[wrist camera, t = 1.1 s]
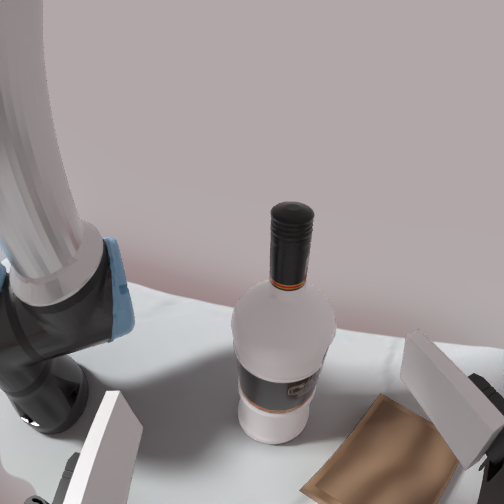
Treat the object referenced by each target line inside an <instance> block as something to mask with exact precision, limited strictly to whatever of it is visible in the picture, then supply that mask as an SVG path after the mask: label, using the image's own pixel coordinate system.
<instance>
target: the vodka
mask: <svg viewBox="0 0 504 504" xmlns="http://www.w3.org/2000/svg"><path fill="white" fill-rule="evenodd" d="M313 218H314V212H313V210H312V209H311V208H310V207H309V206H307V205H305V204H302V203H299V202H282V203H279V204H277V205H276V206H274V207H273V208H272V209H271V244H270V279H269V280H265V281H262V282H259V283H257V284H255V285H254V286H252V287H251V288H249V289H248V290H247V291H246V292H244V294H243V295H242V296H241V297H240V298H239V300H238V302H237V304H236V306H235V308H234V311H233V314H232V319H231V327H232V334H233V345H234V351H235V354H236V356H237V361H238V371H239V378H238V391H239V395H240V397H241V399H240V401H239V405H238V418H239V422H240V425H241V427H242V429H243V430H244V431H245V433H246V434H247V435H249V436H250V437H251V438H253V439H254V440H256V441H259V442H262V443H266V444H280V443H284V442H287V441H290V440H292V439H293V438H295V437H296V436H298V435H299V434H300V433H301V432H302V430H303V429H304V427H305V426H306V423H307V421H308V417H309V404H310V402H311V401H312V399H313V397H314V395H315V391H316V384H317V381H318V378H319V375H320V372H321V369H322V366H323V363H324V360H325V357H326V354H327V351H328V348H329V345H330V344H331V343H332V341H333V338H334V336H335V333H336V318H335V313H334V309H333V306H332V304H331V302H330V301H329V300H328V298H327V297H326V296H325V295H324V293H323V292H322V291H320V290H319V289H318V288H317V287H315V286H313V285H311V284H309V283H307V282H306V277H307V269H308V262H309V254H310V245H311V244H310V242H311V236H312V231H313V229H312V226H313Z"/></svg>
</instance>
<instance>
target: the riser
mask: <svg viewBox="0 0 504 504" xmlns="http://www.w3.org/2000/svg"><path fill="white" fill-rule="evenodd" d="M458 462H459V460H458V459H457V457H456V456H455V454H454V453H453V451H452V450H451V449H450V447H449V446H448V444H447V443H446V441H445V440H444V438H443V437H442V435H441V434H440V432H439V431H438V430H437V428H436V427H435V425H434V424H433V423H431V422H429V421H427V420H426V419H424V418H422V417H420V416H419V415H417V414H415V413H413V412H412V411H410V410H408V409H406V408H405V407H403V406H401V405H400V404H398V403H396V402H395V401H393V400H391V399H390V398H388V397H386V396H385V395H383V394H380V395H379V396H378V398H377V399H376V400H375V402H374V403H373V404H372V405H371V407H370V408H369V410H368V411H367V412H366V414H365V415H364V416H363V418H362V419H361V421H360V422H359V423H358V424H357V426H356V427H355V428H354V430H353V431H352V432H351V433H350V435H349V436H348V437H347V438H346V440H345V441H344V442H343V443H342V445H341V446H340V447H339V448H338V449H337V451H336V452H335V453H334V454H333V455H332V456H331V457H330V459H329V460H328V461H327V462H326V463H325V464H324V465H323V466H322V467H321V469H320V470H319V471H318V472H317V473H316V474H315V475H314V476H313V477H312V478H311V479H310V480H309V481H308V482H307V483H306V484H305V485H304V486H303V487H302V488H301V489H300V490H299V491H301V492H302V493H304V494H305V495H307V496H308V497H310V498H311V499H312V500H314V501H316V502H317V503H319V504H437V502H438V500H439V499H440V497H441V495H442V493H443V492H444V490H445V488H446V486H447V484H448V482H449V481H450V479H451V477H452V475H453V473H454V471H455V469H456V466H457V464H458Z"/></svg>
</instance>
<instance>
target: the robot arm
mask: <svg viewBox="0 0 504 504" xmlns="http://www.w3.org/2000/svg"><path fill="white" fill-rule="evenodd" d="M0 246H1V248H2V250H3V252H4V253H5V255H6V257H7V258H8V260H9V261H10V263H11V267H10V273H7V272H6V268H5V266H3V265H2V264H1V262H0V388H1V389H2V390H3V391H4V392H5V393H6V395H7V396H8V398H9V400H10V402H11V403H12V405H13V407H14V408H15V410H16V412H17V413H18V415H19V416H20V417H21V419H22V420H23V421H24V422H25V423H27V424H28V425H29V426H31V427H32V428H33V429H35V430H37V431H39V432H42V433H46V434H54V433H59V432H62V431H64V430H66V429H67V428H69V427H70V426H72V425H73V424H74V423H75V422H76V421H77V420H78V418H79V417H80V416H81V414H82V412H83V410H84V408H85V405H86V402H87V397H88V384H87V380H86V377H85V374H84V373H83V371H82V370H81V368H80V367H79V366H78V364H77V363H76V362H75V361H74V360H73V359H72V358H71V357H70V356H68V355H67V354H70V353H73V352H76V351H79V350H83V349H86V348H89V347H92V346H96V345H99V344H102V343H106V342H108V343H109V342H112V341H113V340H114V339H116V338H118V337H121V336H123V335H126V334H128V333H130V332H131V331H132V330H133V328H134V325H135V316H134V311H133V306H132V302H131V298H130V293H129V290H128V288H127V281H126V276H125V271H124V268H123V263H122V258H121V254H120V250H119V246H118V243H117V241H116V239H114V238H112V237H111V238H107V237H104V238H102V237H101V235H100V233H99V231H98V230H97V228H96V227H95V226H94V225H93V224H91V223H89V222H88V221H85V220H82V219H80V218H79V216H78V212H77V210H76V207H75V203H74V200H73V198H72V194H71V191H70V188H69V184H68V181H67V177H66V174H65V171H64V167H63V163H62V159H61V155H60V151H59V147H58V143H57V138H56V133H55V129H54V124H53V119H52V114H51V108H50V102H49V95H48V88H47V80H46V71H45V62H44V46H43V0H0ZM400 378H401V380H402V381H403V382H404V384H405V385H406V386H407V388H408V389H409V390H410V392H411V393H412V395H413V396H414V397H415V399H416V400H417V401H418V403H419V404H420V406H421V407H422V408H423V410H424V411H425V413H426V414H427V415H428V417H429V418H430V420H431V421H432V422H433V424H434V425H435V427H436V428H437V430H438V431H439V432H440V434H441V435H442V437H443V438H444V440H445V441H446V443H447V444H448V446H449V447H450V449H451V450H452V451H453V453H454V454H455V456H456V457H457V459H458V460H459V462H460V463H461V465H462V467H463V468H464V470H465V471H466V470H467V469H468V468H470V467H471V466H473V465H474V464H476V463H477V462H478V461H480V459H481V458H482V457H483V455H484V454H486V455H487V458H486V460H485V461H484V462H483V463H482V465H481V466H480V468H479V470H478V471H481V470H482V469H483V467H484V466H485V469H484V475H483V480H482V485H481V490H480V494H479V499H478V503H477V504H504V398H503V397H502V396H501V395H500V394H499V393H498V392H496V390H495V389H494V388H493V387H491V385H490V384H489V383H488V382H487V381H486V380H485V379H484V378H483V377H481V376H479V375H477V374H475V373H473V374H471V375H470V376H468V377H467V376H466V375H465V374H464V373H463V372H462V371H461V370H460V369H459V368H458V367H457V366H456V365H455V364H454V363H453V362H452V361H451V360H450V359H449V358H448V357H447V356H446V355H445V354H444V353H443V352H442V351H441V350H440V349H439V348H438V347H437V346H436V345H435V344H434V343H433V342H432V341H431V340H430V339H429V338H428V337H427V336H426V335H424V333H422V331H420V330H419V329H418V330H415V331H413V332H410V333H408V334H406V338H405V346H404V353H403V359H402V366H401V372H400ZM142 432H143V426H142V425H141V423H140V422H139V420H138V419H137V417H136V416H135V414H134V413H133V411H132V410H131V408H130V406H129V405H128V403H127V402H126V400H125V398H124V397H123V395H122V393H121V392H120V391H106V393H105V395H104V398H103V400H102V402H101V404H100V407H99V409H98V411H97V414H96V416H95V419H94V421H93V423H92V426H91V428H90V431H89V433H88V436H87V438H86V441H85V443H84V446H83V448H82V451H81V453H77V452H75V453H74V454H73V455H72V456H71V457H70V459H69V460H68V462H67V464H66V467H65V471H64V472H63V475H62V478H61V480H60V483H59V486H58V489H57V491H56V494H55V497H54V500H53V503H52V504H127V499H128V494H129V489H130V484H131V480H132V475H133V470H134V466H135V461H136V457H137V453H138V448H139V444H140V440H141V436H142ZM24 504H49V503H48V502H46V501H45V500H44V499H42V498H41V497H39V496H31V497H29V498H28V499H27V500H26V501H25V502H24Z"/></svg>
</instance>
